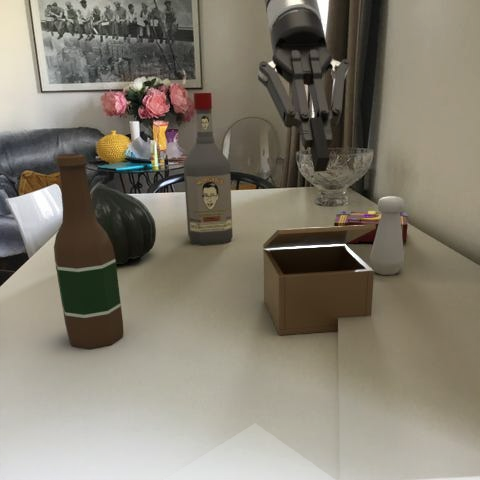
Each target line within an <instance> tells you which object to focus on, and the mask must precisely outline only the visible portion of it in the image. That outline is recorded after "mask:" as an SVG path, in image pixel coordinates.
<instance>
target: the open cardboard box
mask: <svg viewBox="0 0 480 480" xmlns="http://www.w3.org/2000/svg"><path fill="white" fill-rule="evenodd" d="M262 254H263V259H262V260H263V301H264V304H265V306H266V308H267V310H268V313H269V315H270V317H271V320H272V322H273V324H274V327H275V329H276V332H277V334H278V336H289V335H290V336H291V335H302V334H319V333H329V332H330V333H331V332H339V319H345V318H357V317H358V318H359V317H371V316H372V311H373V310H372V308H373V294H374V293H373V292H374V277H375V271H374V268H373V267H371V266H370V265H369V264H368V263H366V262H365V261H364V260H363V259H362V258H361V257H360V256H359V255H358V254H356V253H355V252H354V251H353V250H352V249H351V248H350V247H349V246H347V245H346V244H333V245H316V246H299V247H282V248H265V249H264V248H263V253H262Z"/></svg>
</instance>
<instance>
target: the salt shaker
mask: <svg viewBox="0 0 480 480" xmlns="http://www.w3.org/2000/svg"><path fill="white" fill-rule="evenodd" d="M377 210H378V212H379V213H382V214H381V218H380V221H379V225H378V229H377V233H376V236H375V240H374V242H373V245H372V248H371V252H370V256H369V260H370V263H371V265H372V269H373V270H374V274H375V273H376V274H380V275H382V276H394V275H397V274H398V273H399V272H400V270H401V268H402V266H403V265H404V262H405V250H404V243H403V239H402V228H401V218H400V212H404V210H405V200H404V199H403V198H402V197H399V196H394V195H390V196H389V195H388V196H387V195H386V196H383V197H381V198H380V199H379V200H378V202H377Z"/></svg>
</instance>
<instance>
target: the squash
mask: <svg viewBox="0 0 480 480" xmlns="http://www.w3.org/2000/svg"><path fill="white" fill-rule="evenodd" d="M90 194H91V199H92V205H93V209H94V213H95V216H96V219H97V222H98V223H99V224H100V225H101V227H102V228H103V229H104V230H105V232H106V233H107V235H108V237H109V239H110V241H111V243H112V245H113V249H114V254H115V260H116V265H125V264H126V263H127V262H129V260H130V259H133V260H134V259H137V258H142V257H143V256H145V255H147V254H148V253H149V252H151V250H152V249H153V248H154V245H155V244H156V243H155V242H156V239H157V228H156V222H155V219H154V217H153V215H152V213H151V212H150V210H149V208H148V207H147V206H146V205H145V204H144V203H143V202H142V201H141V200H140V199H138V198H136V197H134V196H133V195H131V194H128V193H125V192H122V191H119V190H118V189H114V188H110V187H107V186H106V187H105V186H96V187H95V188H94V190H93V191H92V192H91V193H90Z"/></svg>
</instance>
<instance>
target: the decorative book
mask: <svg viewBox="0 0 480 480" xmlns="http://www.w3.org/2000/svg"><path fill="white" fill-rule="evenodd" d="M381 214H382V212H377V211H376V210H368V211H367V212H364V211H354V210H353V211H352V210H351V211H350V210H347V211H346V210H337V212H336V217H335V220H334V222H333V227H335V226H353V225H371V224H375V225H376V229H374V230H372V231H370V232H368V233H366V234H364V235H362V236H360V237H358V238H356V239H354V240H352V241H350V242H348V243H347V244H359V242H367V243H368V242H369V243H374V240H375V236H376V233H377V229H378V225H379V221H380V218H381ZM400 218H401V228H402V239H403V244H406V243H407V237H408V236H407V235H408V225H409V223H408V212H407V211H402V212H400Z"/></svg>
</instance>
